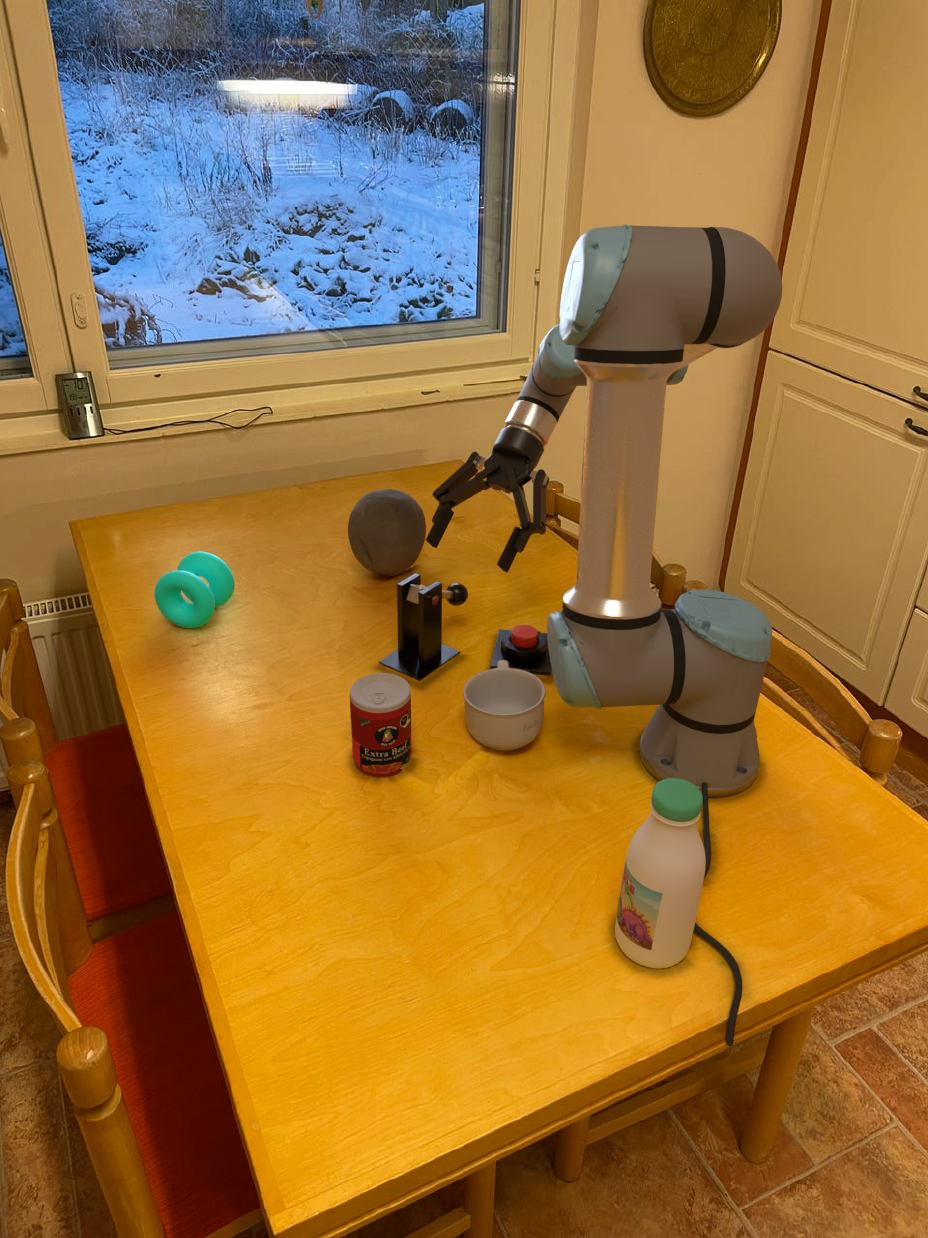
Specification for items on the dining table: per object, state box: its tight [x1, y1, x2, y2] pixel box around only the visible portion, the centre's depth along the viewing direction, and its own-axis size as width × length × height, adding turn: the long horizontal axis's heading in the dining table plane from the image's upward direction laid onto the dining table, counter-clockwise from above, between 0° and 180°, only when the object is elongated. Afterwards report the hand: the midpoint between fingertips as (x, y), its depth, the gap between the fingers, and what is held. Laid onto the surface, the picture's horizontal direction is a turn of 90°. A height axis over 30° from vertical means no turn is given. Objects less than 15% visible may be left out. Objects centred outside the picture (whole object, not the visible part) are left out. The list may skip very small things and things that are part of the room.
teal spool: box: [153, 551, 236, 629], centre depth 147 cm, size 10×10×10 cm
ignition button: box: [511, 624, 539, 648], centre depth 138 cm, size 4×4×2 cm
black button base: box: [489, 628, 552, 677], centre depth 139 cm, size 11×9×4 cm
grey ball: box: [347, 488, 427, 577], centre depth 161 cm, size 14×14×15 cm
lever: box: [407, 582, 469, 607], centre depth 137 cm, size 13×4×4 cm, turn 143°
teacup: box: [462, 660, 547, 752], centre depth 122 cm, size 14×11×8 cm
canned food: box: [349, 672, 412, 778], centre depth 115 cm, size 8×8×11 cm
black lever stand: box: [378, 573, 461, 682], centre depth 135 cm, size 10×8×14 cm
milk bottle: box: [614, 778, 706, 969], centre depth 89 cm, size 8×8×20 cm
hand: (465, 556), depth 139 cm, fingers open, 13 cm apart
